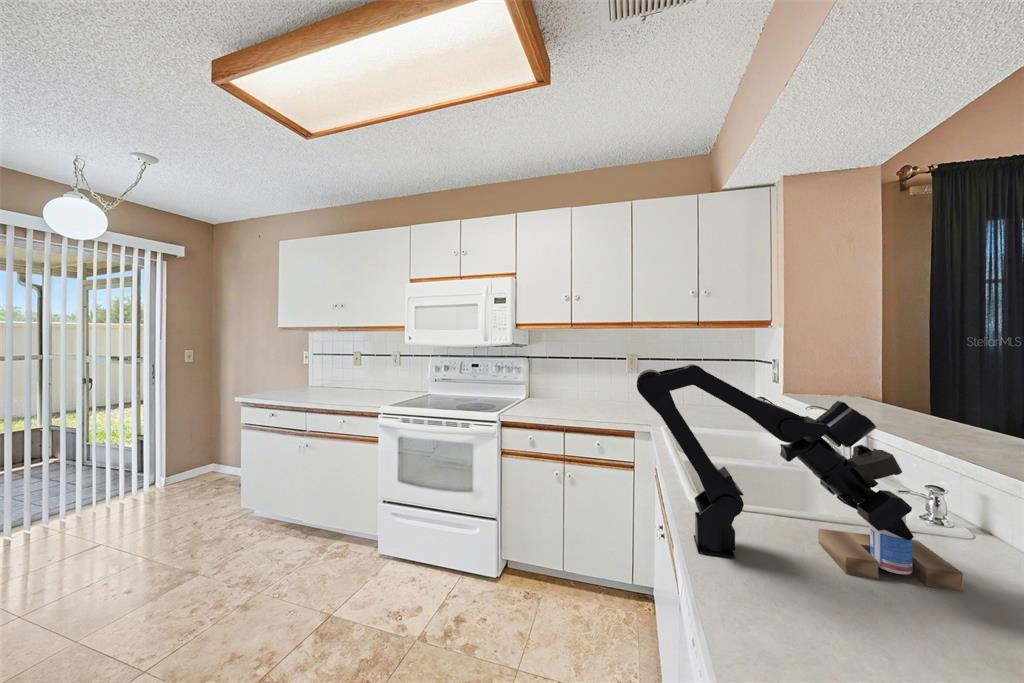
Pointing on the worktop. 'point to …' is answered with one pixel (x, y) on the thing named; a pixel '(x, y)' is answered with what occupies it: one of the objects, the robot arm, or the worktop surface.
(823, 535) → the notched board
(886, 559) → the pill bottle
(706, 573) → the worktop surface
